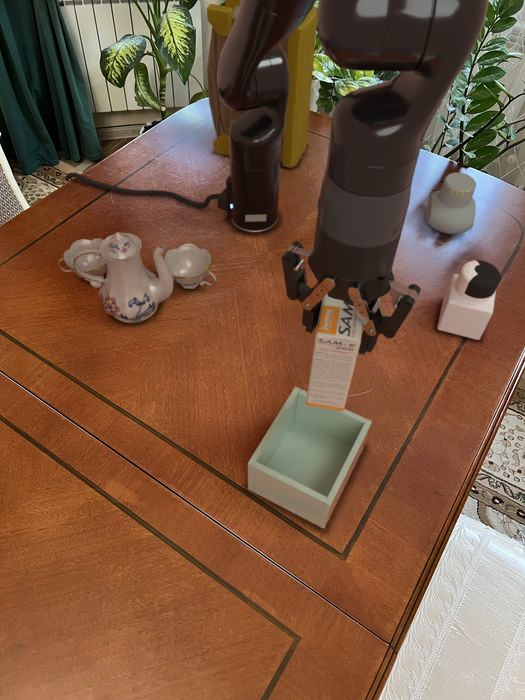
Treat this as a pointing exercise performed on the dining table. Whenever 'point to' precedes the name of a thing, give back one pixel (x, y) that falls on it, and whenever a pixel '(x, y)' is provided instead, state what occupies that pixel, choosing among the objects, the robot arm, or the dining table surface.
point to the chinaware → (135, 273)
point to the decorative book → (300, 80)
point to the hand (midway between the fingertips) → (337, 337)
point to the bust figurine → (470, 300)
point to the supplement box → (334, 354)
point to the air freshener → (453, 205)
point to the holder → (307, 457)
